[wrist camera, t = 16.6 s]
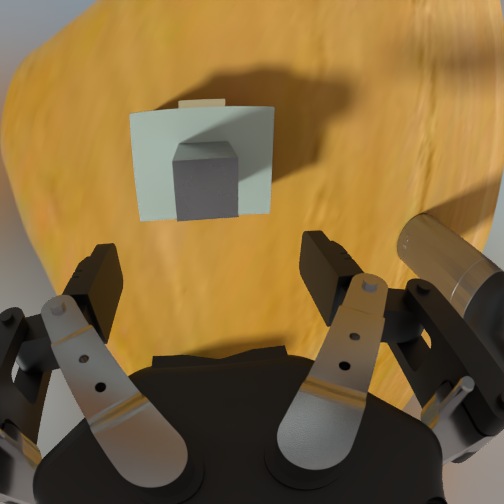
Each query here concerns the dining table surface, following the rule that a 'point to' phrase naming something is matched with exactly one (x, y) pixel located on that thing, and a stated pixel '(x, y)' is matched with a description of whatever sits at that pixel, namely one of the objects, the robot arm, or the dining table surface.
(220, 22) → the dining table surface
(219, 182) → the block
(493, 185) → the dining table surface
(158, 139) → the box lid
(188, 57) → the dining table surface
